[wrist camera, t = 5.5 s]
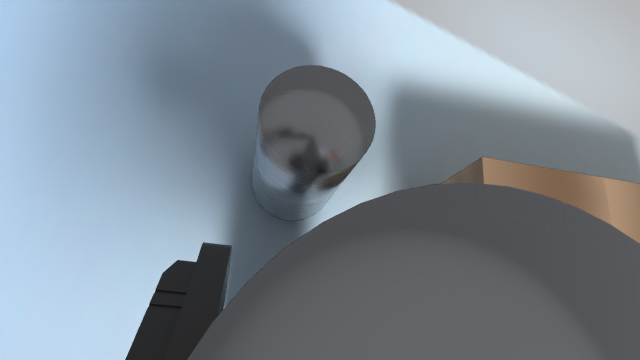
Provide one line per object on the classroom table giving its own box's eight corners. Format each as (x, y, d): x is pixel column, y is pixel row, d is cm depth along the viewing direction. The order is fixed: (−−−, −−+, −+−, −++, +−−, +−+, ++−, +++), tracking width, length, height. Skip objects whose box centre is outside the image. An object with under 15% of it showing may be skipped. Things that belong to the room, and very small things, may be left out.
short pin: (246, 214, 19) (250, 161, 12) (257, 139, 20) (267, 55, 13) (327, 225, 19) (373, 180, 13) (333, 151, 21) (377, 77, 14)
